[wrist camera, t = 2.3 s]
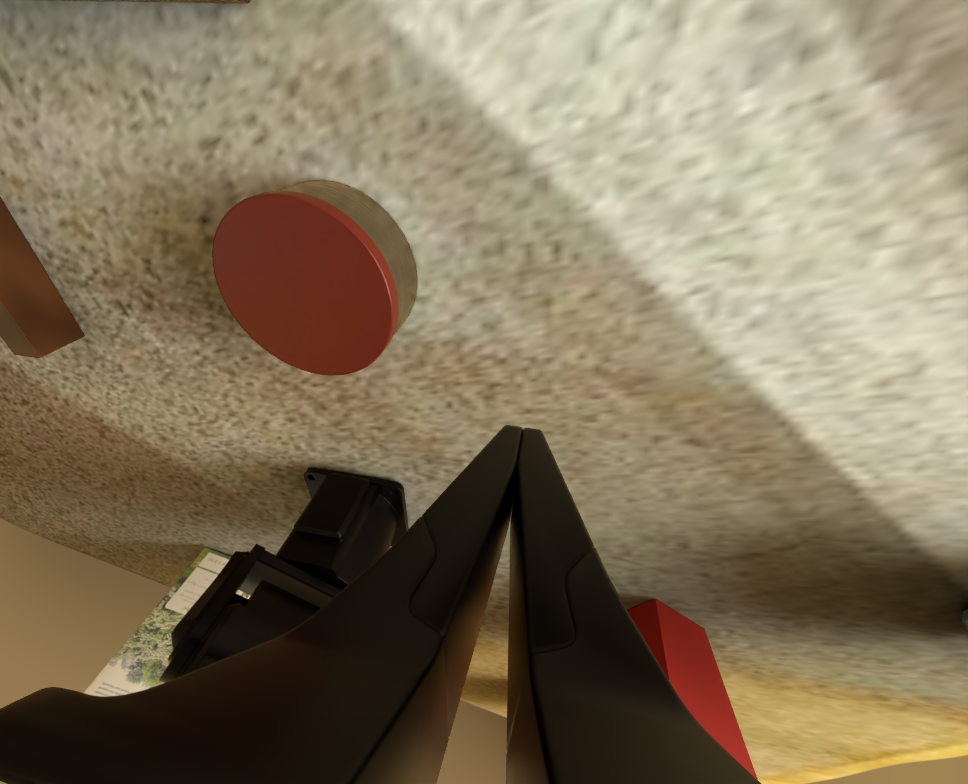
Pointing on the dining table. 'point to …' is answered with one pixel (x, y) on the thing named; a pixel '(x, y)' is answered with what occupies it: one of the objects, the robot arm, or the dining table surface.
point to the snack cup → (965, 618)
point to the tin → (316, 275)
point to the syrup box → (158, 632)
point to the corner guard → (36, 283)
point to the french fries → (692, 673)
